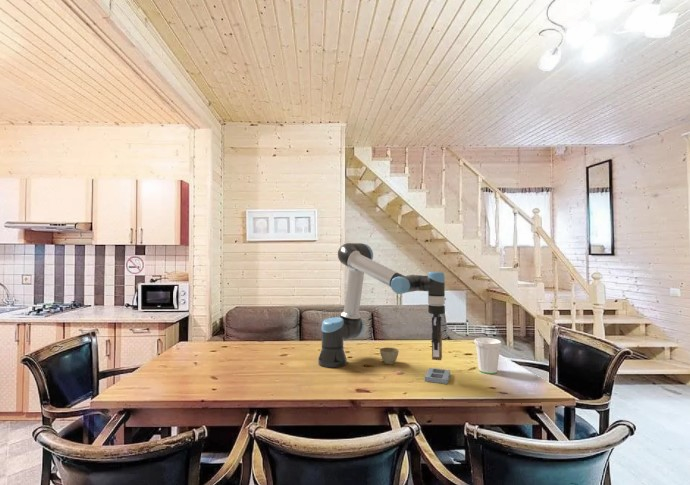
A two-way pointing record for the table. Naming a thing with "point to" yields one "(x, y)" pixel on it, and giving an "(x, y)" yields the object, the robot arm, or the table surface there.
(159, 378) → the table surface
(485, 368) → the cup
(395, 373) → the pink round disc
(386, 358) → the flower pot
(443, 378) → the grey window frame
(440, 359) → the peg
